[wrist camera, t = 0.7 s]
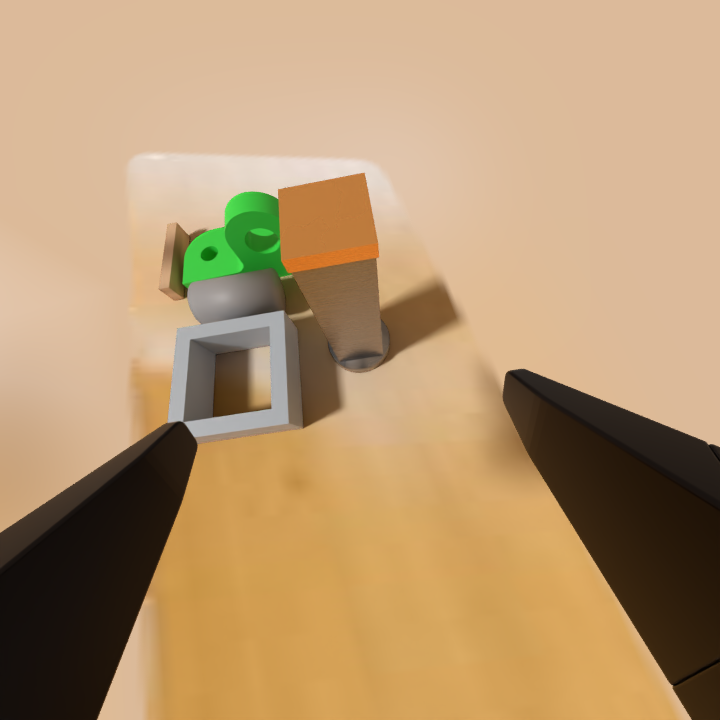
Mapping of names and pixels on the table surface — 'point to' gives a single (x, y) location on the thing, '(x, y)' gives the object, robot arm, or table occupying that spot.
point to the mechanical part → (238, 241)
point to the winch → (228, 334)
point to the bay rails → (174, 262)
